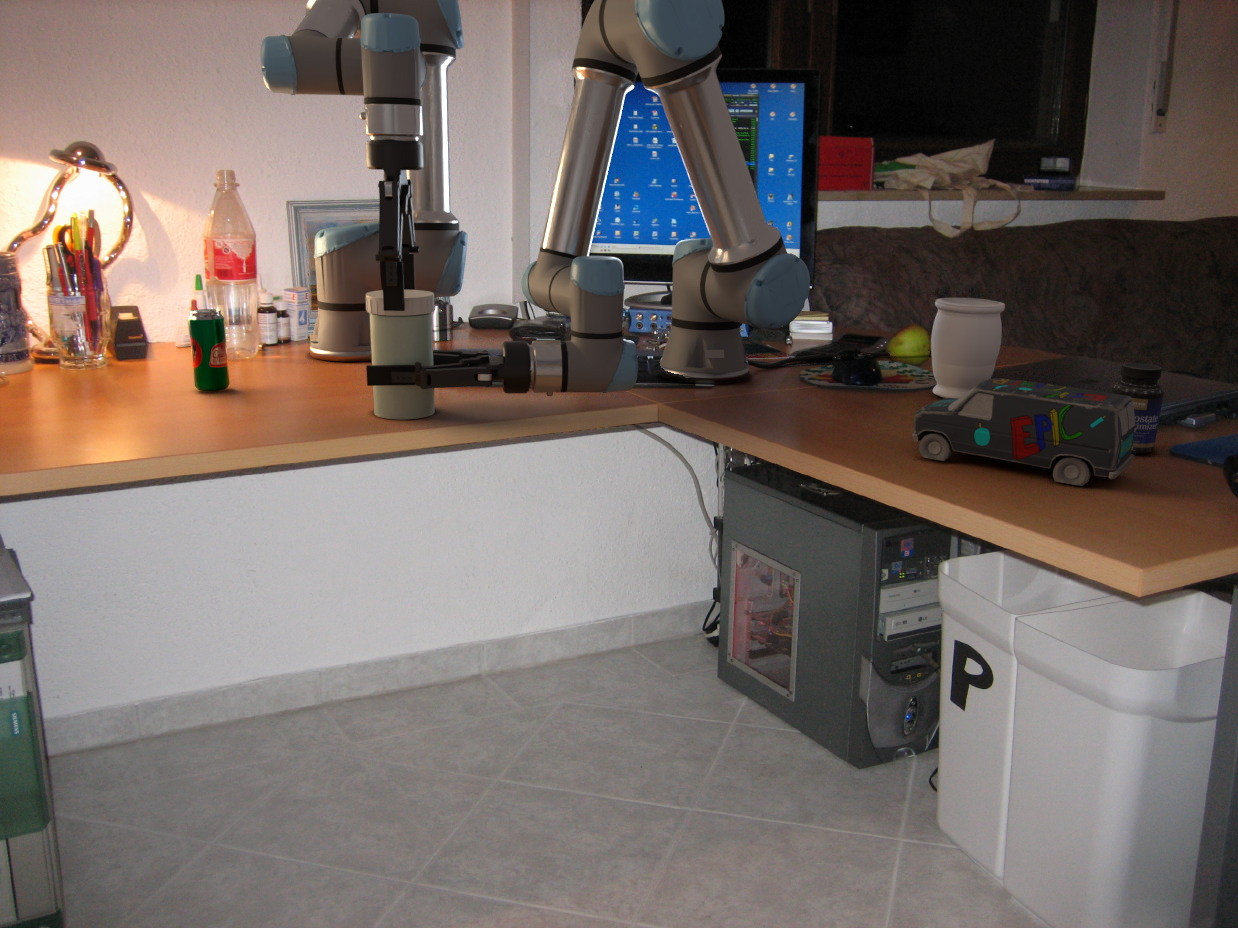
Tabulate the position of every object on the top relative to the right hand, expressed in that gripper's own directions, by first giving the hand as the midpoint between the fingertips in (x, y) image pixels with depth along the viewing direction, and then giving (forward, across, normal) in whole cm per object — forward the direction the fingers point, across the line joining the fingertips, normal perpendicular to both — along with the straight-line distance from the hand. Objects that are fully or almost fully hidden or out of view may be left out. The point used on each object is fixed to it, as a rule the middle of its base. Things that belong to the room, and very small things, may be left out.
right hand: (369, 369), depth 151 cm
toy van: (-81, -34, -6) cm, 88 cm away
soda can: (+25, +17, -6) cm, 31 cm away
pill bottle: (-99, -28, -6) cm, 104 cm away
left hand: (-5, 0, +9) cm, 10 cm away
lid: (-5, 0, +10) cm, 11 cm away
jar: (-91, +4, -6) cm, 92 cm away
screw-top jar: (-5, 0, -6) cm, 8 cm away
